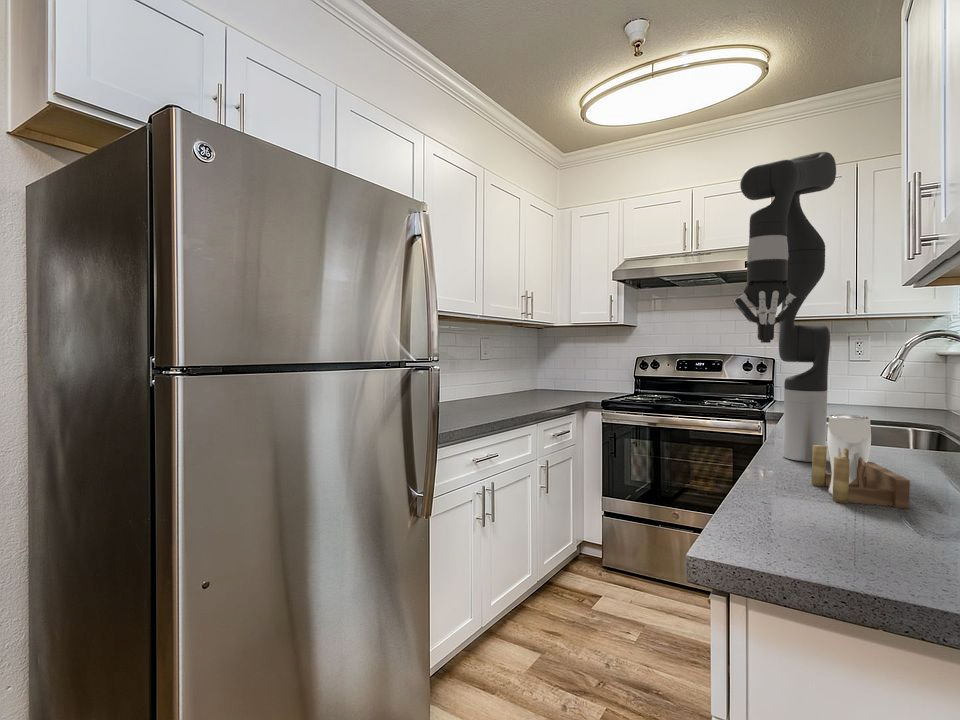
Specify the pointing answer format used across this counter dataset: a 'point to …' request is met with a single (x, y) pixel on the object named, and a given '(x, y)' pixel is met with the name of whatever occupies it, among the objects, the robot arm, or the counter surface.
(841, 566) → the counter surface
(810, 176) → the robot arm
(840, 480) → the holder
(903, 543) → the counter surface
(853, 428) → the silver metal cup
